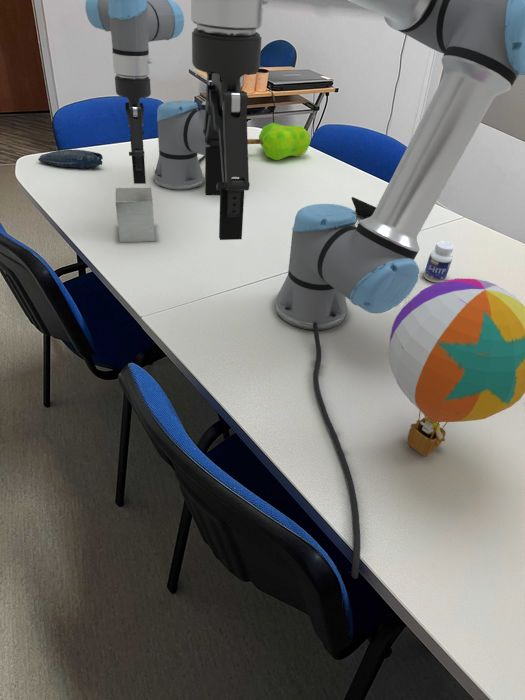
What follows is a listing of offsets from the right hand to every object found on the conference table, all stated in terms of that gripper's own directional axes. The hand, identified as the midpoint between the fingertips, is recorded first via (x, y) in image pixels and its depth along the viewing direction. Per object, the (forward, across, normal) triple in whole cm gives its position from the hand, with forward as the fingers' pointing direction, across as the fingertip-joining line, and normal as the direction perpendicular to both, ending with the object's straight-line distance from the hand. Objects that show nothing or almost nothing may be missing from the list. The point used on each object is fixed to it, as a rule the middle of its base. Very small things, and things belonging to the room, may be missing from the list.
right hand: (222, 215), depth 69 cm
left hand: (+18, +63, +10) cm, 67 cm away
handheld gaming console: (+34, +69, -56) cm, 95 cm away
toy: (+34, -16, -31) cm, 48 cm away
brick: (+34, +62, +12) cm, 72 cm away
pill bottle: (+34, +34, -59) cm, 76 cm away
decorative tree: (+34, +122, -36) cm, 132 cm away
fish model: (+34, +112, +31) cm, 121 cm away
